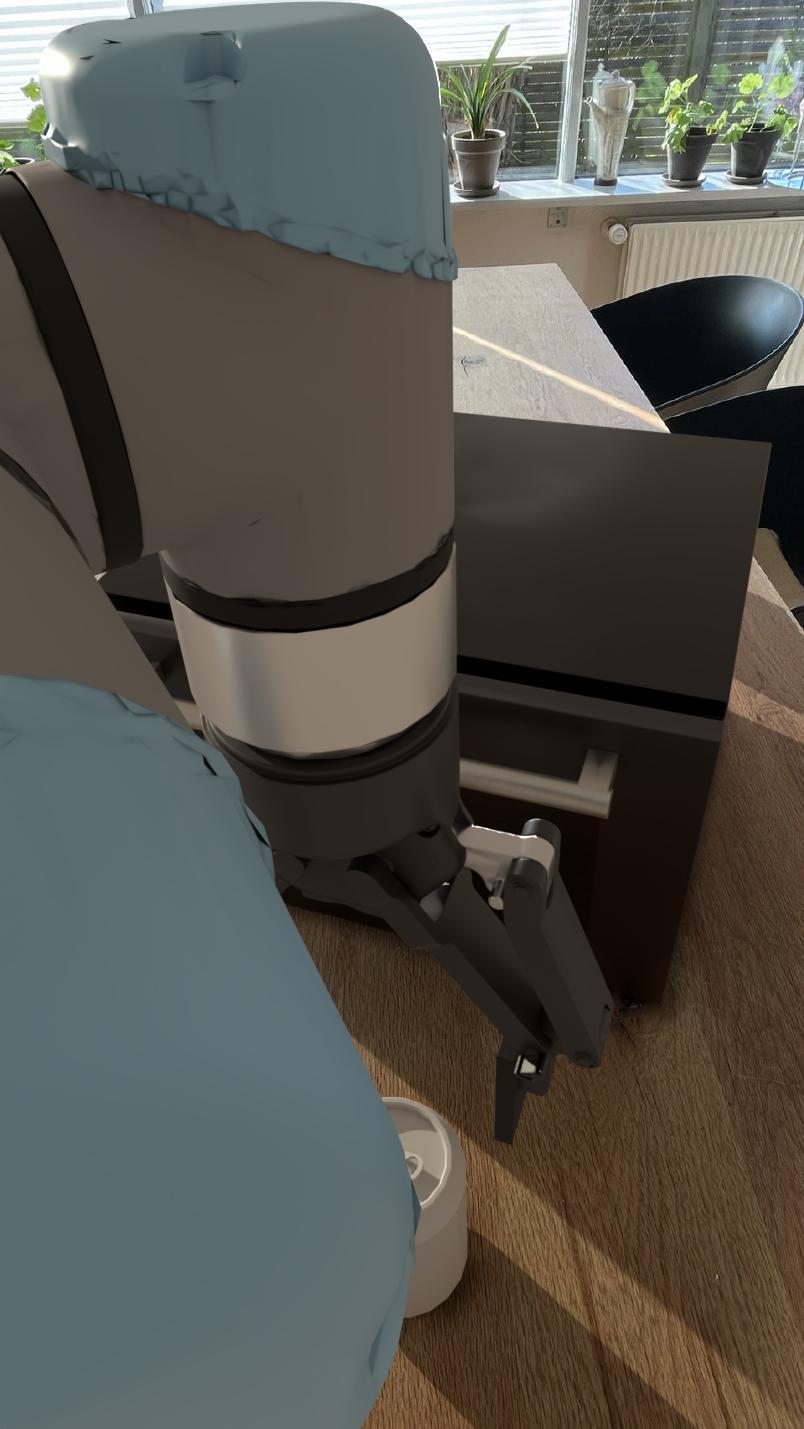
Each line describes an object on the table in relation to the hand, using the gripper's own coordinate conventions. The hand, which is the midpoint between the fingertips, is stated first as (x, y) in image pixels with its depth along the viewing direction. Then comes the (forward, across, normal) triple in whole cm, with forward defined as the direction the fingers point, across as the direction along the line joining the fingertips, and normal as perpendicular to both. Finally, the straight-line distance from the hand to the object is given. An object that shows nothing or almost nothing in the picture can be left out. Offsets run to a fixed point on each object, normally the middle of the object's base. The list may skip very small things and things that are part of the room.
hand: (379, 1070), depth 41 cm
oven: (+20, +8, -38) cm, 44 cm away
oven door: (+20, +8, -19) cm, 29 cm away
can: (+20, 0, 0) cm, 20 cm away
